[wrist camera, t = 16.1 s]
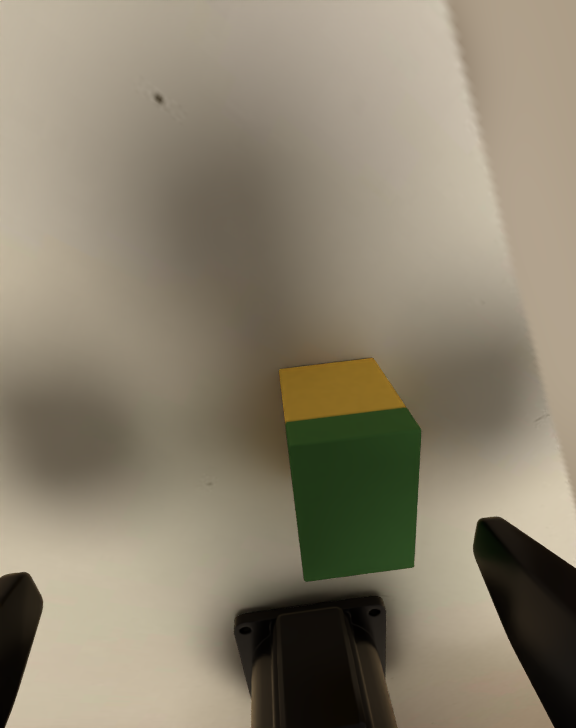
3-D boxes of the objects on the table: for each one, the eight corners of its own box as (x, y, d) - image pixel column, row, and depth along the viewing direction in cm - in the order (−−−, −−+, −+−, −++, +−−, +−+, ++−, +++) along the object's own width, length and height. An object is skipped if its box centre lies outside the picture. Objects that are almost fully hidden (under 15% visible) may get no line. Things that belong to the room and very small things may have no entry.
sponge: (374, 470, 14) (414, 568, 11) (292, 480, 14) (304, 583, 10) (373, 357, 12) (422, 429, 9) (278, 368, 12) (287, 446, 9)
